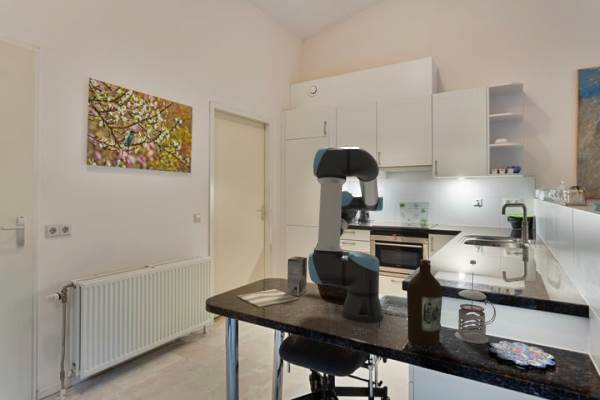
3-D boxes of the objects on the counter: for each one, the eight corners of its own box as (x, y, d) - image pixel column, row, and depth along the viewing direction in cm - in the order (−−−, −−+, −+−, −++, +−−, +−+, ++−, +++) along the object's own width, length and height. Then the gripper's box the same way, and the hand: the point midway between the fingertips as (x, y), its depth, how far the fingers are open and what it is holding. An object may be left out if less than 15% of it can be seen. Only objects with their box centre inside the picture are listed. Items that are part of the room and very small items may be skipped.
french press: (453, 329, 117) (455, 256, 118) (491, 334, 114) (493, 259, 114) (456, 340, 108) (457, 261, 108) (497, 346, 104) (499, 264, 104)
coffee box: (294, 289, 165) (295, 256, 165) (306, 291, 162) (307, 257, 162) (286, 294, 156) (287, 258, 156) (299, 296, 154) (300, 260, 154)
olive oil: (399, 334, 112) (401, 257, 112) (427, 331, 115) (428, 257, 115) (418, 347, 102) (420, 263, 102) (449, 344, 105) (450, 262, 105)
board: (298, 299, 149) (298, 298, 149) (259, 307, 136) (259, 306, 136) (275, 290, 163) (275, 289, 163) (237, 297, 150) (237, 295, 150)
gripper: (350, 234, 172) (325, 271, 162) (332, 232, 182) (307, 266, 172) (343, 223, 169) (317, 261, 158) (325, 222, 179) (299, 256, 168)
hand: (312, 263), depth 165 cm, fingers closed
